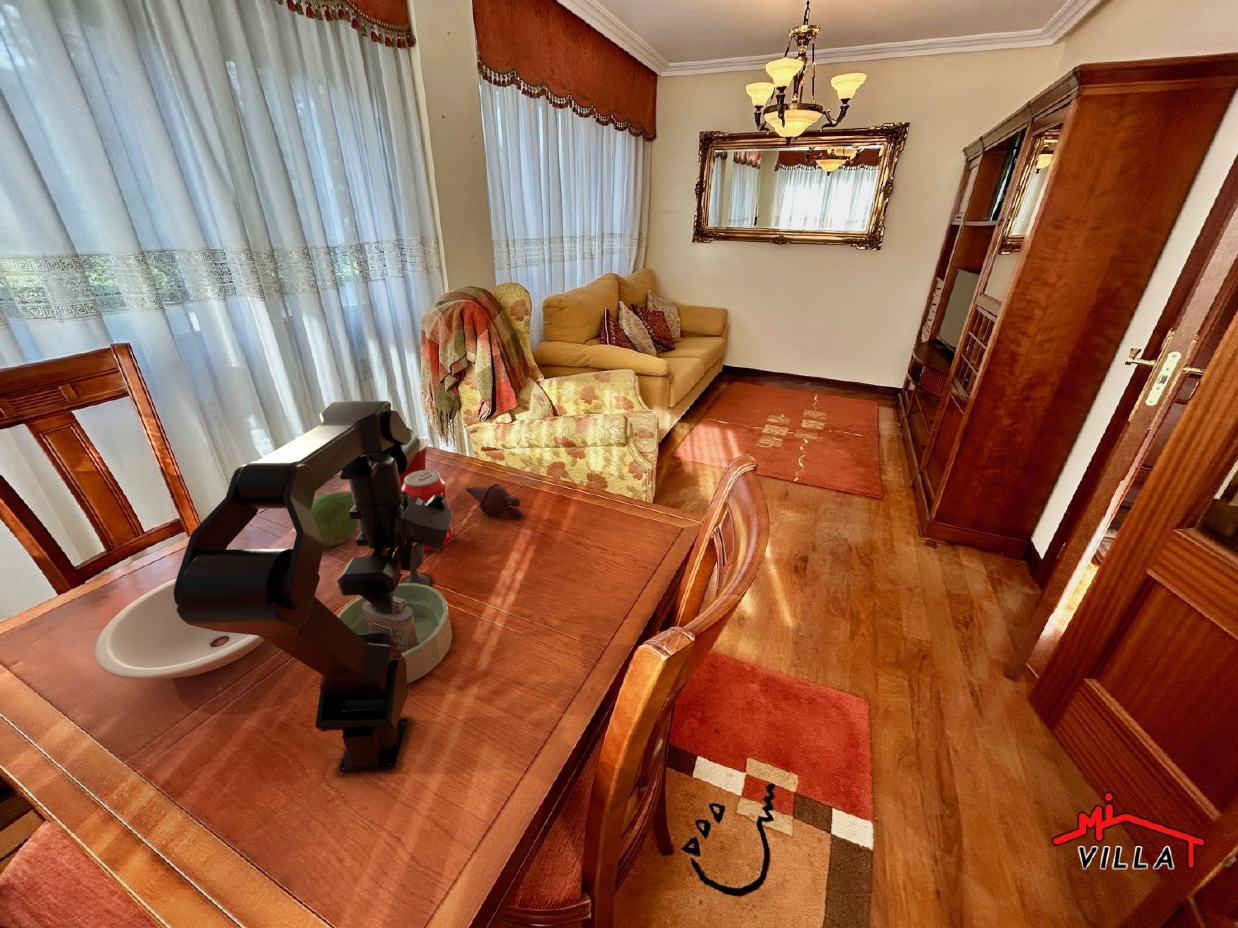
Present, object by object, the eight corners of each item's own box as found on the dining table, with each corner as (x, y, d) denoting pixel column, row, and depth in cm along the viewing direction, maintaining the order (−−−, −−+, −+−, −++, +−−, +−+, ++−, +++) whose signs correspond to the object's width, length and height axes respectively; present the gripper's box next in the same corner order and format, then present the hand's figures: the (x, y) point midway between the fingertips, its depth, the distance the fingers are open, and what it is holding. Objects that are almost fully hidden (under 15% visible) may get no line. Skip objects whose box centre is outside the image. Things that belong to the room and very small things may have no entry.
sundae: (423, 599, 87) (409, 527, 80) (388, 593, 88) (372, 521, 81) (442, 575, 92) (431, 506, 86) (409, 570, 94) (396, 501, 87)
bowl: (439, 689, 71) (434, 659, 68) (318, 697, 69) (308, 666, 66) (460, 608, 85) (456, 581, 82) (361, 613, 83) (353, 585, 81)
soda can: (461, 537, 103) (452, 473, 97) (432, 558, 97) (420, 491, 90) (433, 527, 106) (423, 464, 100) (403, 546, 100) (390, 480, 93)
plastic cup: (425, 475, 127) (418, 431, 122) (442, 492, 120) (435, 446, 114) (380, 487, 121) (371, 442, 115) (395, 506, 113) (386, 458, 108)
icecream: (452, 487, 109) (508, 510, 104) (473, 467, 114) (528, 487, 109) (459, 509, 114) (513, 532, 109) (479, 489, 118) (532, 509, 113)
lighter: (366, 646, 76) (352, 596, 72) (382, 631, 79) (370, 581, 75) (410, 661, 74) (399, 609, 70) (425, 644, 77) (415, 594, 72)
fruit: (348, 513, 110) (338, 473, 106) (386, 521, 108) (378, 481, 103) (289, 552, 97) (275, 508, 93) (331, 563, 95) (319, 518, 90)
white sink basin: (341, 624, 81) (332, 593, 78) (160, 744, 62) (139, 708, 59) (261, 573, 91) (250, 543, 89) (86, 662, 73) (65, 628, 70)
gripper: (427, 533, 57) (444, 635, 64) (455, 461, 73) (466, 548, 80) (322, 538, 55) (351, 641, 62) (375, 463, 72) (393, 551, 79)
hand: (398, 590), depth 71 cm, fingers open, 9 cm apart
